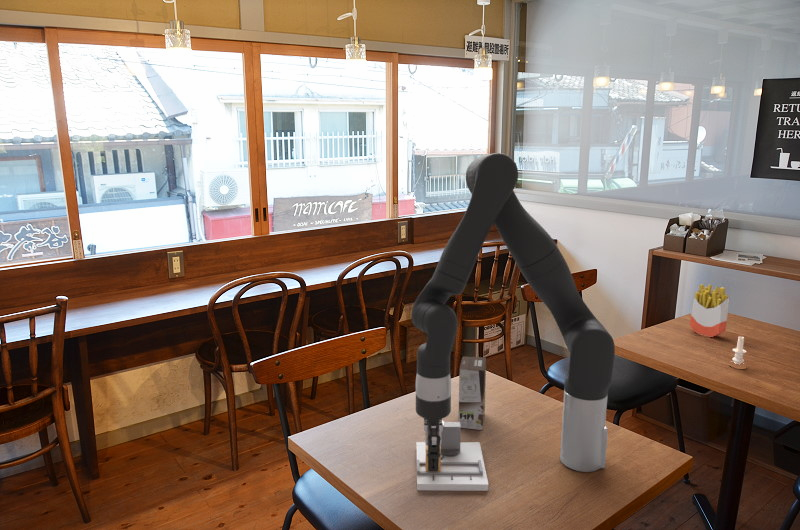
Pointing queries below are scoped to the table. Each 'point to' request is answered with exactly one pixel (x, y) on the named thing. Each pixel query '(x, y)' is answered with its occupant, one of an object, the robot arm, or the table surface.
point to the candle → (739, 351)
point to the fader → (438, 461)
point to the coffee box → (472, 392)
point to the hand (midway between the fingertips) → (432, 463)
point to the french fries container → (709, 311)
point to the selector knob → (450, 438)
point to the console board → (453, 470)
